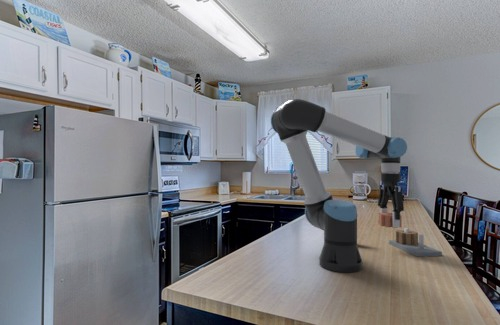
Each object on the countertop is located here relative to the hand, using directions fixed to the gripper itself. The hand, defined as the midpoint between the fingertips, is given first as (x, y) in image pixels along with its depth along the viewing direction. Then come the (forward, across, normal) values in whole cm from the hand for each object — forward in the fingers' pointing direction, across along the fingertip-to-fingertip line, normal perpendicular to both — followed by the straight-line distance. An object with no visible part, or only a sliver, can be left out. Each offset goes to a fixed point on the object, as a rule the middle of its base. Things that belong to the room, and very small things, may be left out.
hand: (389, 224), depth 129 cm
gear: (0, 0, 0) cm, 0 cm away
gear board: (+11, +1, -12) cm, 16 cm away
